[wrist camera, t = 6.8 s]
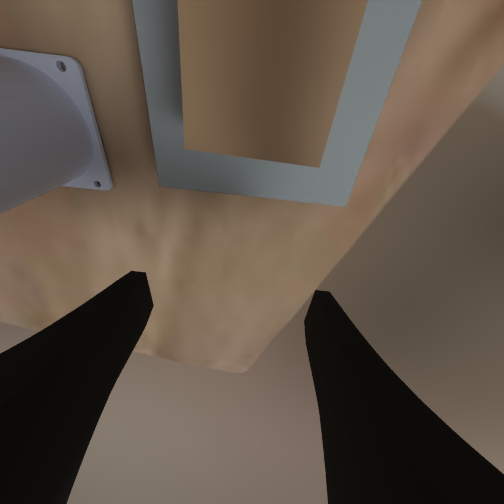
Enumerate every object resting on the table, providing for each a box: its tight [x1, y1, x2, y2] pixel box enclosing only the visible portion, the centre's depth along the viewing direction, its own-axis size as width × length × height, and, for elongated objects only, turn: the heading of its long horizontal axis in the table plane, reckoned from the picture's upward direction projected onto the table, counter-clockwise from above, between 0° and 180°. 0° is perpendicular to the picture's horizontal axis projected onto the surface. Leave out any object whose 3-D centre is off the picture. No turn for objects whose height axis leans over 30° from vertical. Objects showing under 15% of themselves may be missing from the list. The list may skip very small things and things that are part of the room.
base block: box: [132, 0, 422, 207], centre depth 12 cm, size 12×12×4 cm
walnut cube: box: [178, 0, 368, 168], centre depth 9 cm, size 5×5×5 cm
